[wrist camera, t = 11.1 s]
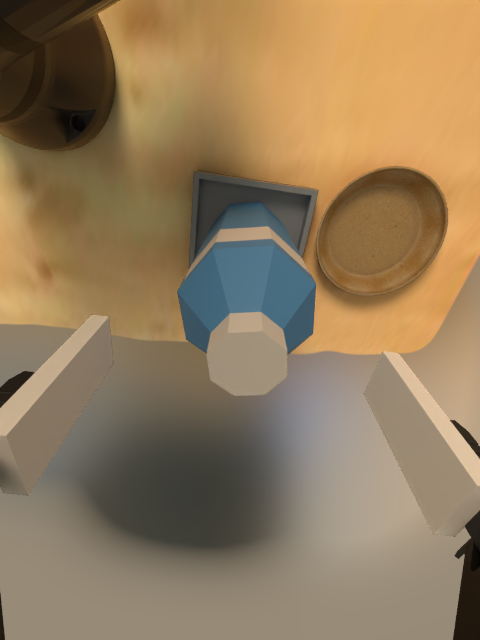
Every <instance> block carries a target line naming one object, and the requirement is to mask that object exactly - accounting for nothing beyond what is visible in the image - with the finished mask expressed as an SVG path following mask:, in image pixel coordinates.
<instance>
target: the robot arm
mask: <svg viewBox="0 0 480 640" xmlns="http://www.w3.org/2000/svg"><path fill="white" fill-rule="evenodd" d="M118 1H120V0H0V133H1V134H2V135H4V136H6V137H8V138H9V139H11V140H13V141H15V142H18V143H20V144H22V145H25V146H28V147H32V148H36V149H41V150H55V151H63V150H71V149H75V148H78V147H80V146H82V145H84V144H86V143H88V142H89V141H90V140H92V139H93V138H94V137H95V136H96V135H97V134H98V133H99V132H100V130H101V129H102V127H103V126H104V124H105V122H106V120H107V118H108V116H109V113H110V110H111V107H112V103H113V98H114V89H115V73H114V64H113V58H112V53H111V49H110V45H109V41H108V38H107V35H106V33H105V30H104V27H103V25H102V23H101V21H100V19H99V17H98V15H97V14H98V13H100V12H101V11H103V10H105V9H106V8H108V7H110V6H111V5H113V4H115V3H116V2H118ZM112 365H113V353H112V343H111V332H110V321H109V316H101V315H93V314H92V315H91V316H90V317H89V318H88V319H87V320H86V321H85V322H84V323H83V324H82V325H81V326H80V327H79V328H78V329H77V330H76V332H75V333H74V334H73V335H72V336H71V337H70V338H69V339H68V340H67V341H66V342H65V343H64V344H63V345H62V346H61V347H60V348H59V349H58V350H57V351H56V352H55V353H54V354H53V355H52V356H51V357H50V358H49V359H48V360H47V361H46V362H45V363H44V364H43V365H42V366H41V367H40V368H39V369H38V370H37V371H36V372H28V371H24V372H22V373H20V374H18V375H16V376H15V377H13V378H11V379H9V380H8V381H7V382H6V383H5V384H4V385H3V386H1V387H0V487H1V490H2V492H3V493H8V494H18V495H29V494H30V492H31V491H32V489H33V488H34V486H35V484H36V483H37V481H38V480H39V478H40V477H41V475H42V474H43V472H44V471H45V469H46V467H47V466H48V464H49V463H50V461H51V460H52V458H53V456H54V455H55V453H56V452H57V450H58V449H59V447H60V446H61V444H62V443H63V441H64V440H65V438H66V436H67V435H68V433H69V432H70V430H71V429H72V427H73V426H74V424H75V423H76V421H77V419H78V418H79V416H80V415H81V413H82V412H83V410H84V409H85V407H86V405H87V404H88V402H89V401H90V399H91V398H92V396H93V395H94V393H95V392H96V390H97V388H98V387H99V385H100V384H101V382H102V380H103V379H104V378H105V376H106V374H107V373H108V371H109V370H110V368H111V366H112ZM364 395H365V397H366V399H367V401H368V403H369V405H370V407H371V409H372V412H373V414H374V416H375V418H376V420H377V422H378V424H379V426H380V428H381V430H382V432H383V434H384V436H385V438H386V440H387V442H388V444H389V446H390V448H391V450H392V452H393V454H394V456H395V458H396V460H397V462H398V464H399V466H400V468H401V470H402V472H403V474H404V476H405V478H406V480H407V482H408V484H409V486H410V488H411V491H412V492H413V495H414V496H415V499H416V501H417V503H418V505H419V507H420V509H421V511H422V513H423V515H424V517H425V519H426V521H427V523H428V525H429V527H430V529H431V531H432V533H433V534H434V535H443V536H453V537H455V536H456V535H457V534H458V533H459V532H460V531H461V530H462V529H463V528H464V527H465V528H466V529H467V531H468V533H469V534H470V536H471V539H469V540H468V541H467V542H466V543H465V544H464V545H463V546H462V547H461V548H460V549H459V550H458V551H457V553H456V555H455V557H457V558H458V559H459V558H460V557H461V556H462V555H463V554H465V558H464V565H463V572H462V579H461V587H460V594H459V601H458V608H457V615H456V622H455V629H454V637H453V640H480V446H478V443H477V442H476V440H475V439H474V438H473V437H472V436H471V434H470V433H469V432H468V431H467V430H466V429H465V428H463V427H462V426H461V425H460V424H459V423H457V422H456V421H455V420H449V419H448V417H447V416H446V415H445V413H444V412H443V411H442V409H441V408H440V407H439V406H438V404H437V403H436V402H435V401H434V399H433V398H432V396H431V395H430V394H429V393H428V391H427V390H426V389H425V387H424V386H423V385H422V383H421V382H420V381H419V380H418V378H417V377H416V376H415V375H414V373H413V372H412V371H411V369H410V368H409V367H408V365H407V364H406V363H405V361H404V360H403V359H402V358H401V356H400V355H399V354H398V353H392V352H384V351H383V352H382V354H381V357H380V359H379V361H378V363H377V365H376V368H375V370H374V372H373V374H372V376H371V378H370V381H369V383H368V385H367V387H366V390H365V392H364ZM0 640H5V635H4V625H3V616H2V605H1V595H0Z"/></svg>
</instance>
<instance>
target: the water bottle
mask: <svg viewBox="0 0 480 640" xmlns="http://www.w3.org/2000/svg"><path fill="white" fill-rule="evenodd" d="M177 292H178V298H179V303H180V308H181V314H182V319H183V325H184V330H185V335H186V340H188V341H189V342H191V343H192V344H194V345H195V346H196V347H198V348H199V349H201V350H202V351H204V352H205V353H206V355H207V361H208V369H209V375H210V380H211V381H212V382H214V383H215V384H217V385H218V386H220V387H221V388H223V389H224V390H226V391H227V392H229V393H230V394H232V395H233V396H249V395H265V394H267V393H268V392H269V391H270V390H272V389H273V388H274V387H275V386H277V385H278V384H279V383H280V382H282V381H283V380H284V379H285V378H287V355H288V354H289V353H291V352H292V351H293V350H294V349H295V348H296V347H298V346H299V345H300V344H301V343H302V342H304V341H305V340H306V339H307V338H308V337H309V336H311V335H312V334H313V325H314V308H315V292H316V283H315V281H314V279H313V278H312V276H311V274H310V272H309V270H308V269H307V267H306V265H305V263H304V261H303V259H302V258H301V256H300V254H299V252H298V250H297V248H296V247H295V245H294V243H293V241H292V239H291V238H290V236H289V234H288V232H287V230H286V228H285V227H284V225H283V223H282V222H281V221H280V220H279V219H278V218H277V217H276V216H275V215H274V214H273V213H272V212H271V211H270V210H269V209H268V208H267V207H265V206H264V205H263V204H262V203H261V202H251V203H237V204H230V205H229V206H228V207H227V208H226V210H225V211H224V212H223V213H222V215H221V216H220V217H219V218H218V220H217V221H216V222H215V223H214V224H213V226H212V227H211V229H210V230H209V232H208V234H207V236H206V238H205V240H204V242H203V244H202V246H201V248H200V249H199V251H198V253H197V255H196V257H195V259H194V261H193V263H192V265H191V267H190V269H189V270H188V272H187V274H186V276H185V278H184V280H183V282H182V284H181V286H180V288H179V289H178V291H177Z"/></svg>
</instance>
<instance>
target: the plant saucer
mask: <svg viewBox="0 0 480 640" xmlns="http://www.w3.org/2000/svg"><path fill="white" fill-rule="evenodd" d="M447 226H448V208H447V203H446V200H445V197H444V194H443V192H442V191H441V189H440V187H439V186H438V185H437V183H436V182H435V181H434V180H433V179H432V178H431V177H430V176H428V175H427V174H425V173H423V172H421V171H419V170H416V169H414V168H409V167H403V166H390V167H384V168H379V169H376V170H373V171H370V172H367V173H365V174H363V175H362V176H360V177H358V178H356V179H355V180H353V181H352V182H350V183H349V184H348V185H347V186H345V187H344V188H343V189H342V190H341V191H340V192H339V193H338V194H337V196H336V197H335V198H334V199H333V200H332V202H331V203H330V205H329V206H328V208H327V209H326V211H325V213H324V215H323V218H322V220H321V223H320V226H319V229H318V234H317V245H316V246H317V255H318V260H319V264H320V266H321V268H322V270H323V272H324V274H325V275H326V276H327V278H328V279H329V280H330V281H331V282H332V283H333V284H334V285H336V286H337V287H339V288H340V289H342V290H343V291H346V292H349V293H352V294H355V295H363V296H373V295H381V294H385V293H389V292H392V291H394V290H397V289H399V288H401V287H403V286H405V285H406V284H408V283H410V282H411V281H413V280H414V279H415V278H416V277H418V276H419V275H420V274H421V273H422V272H423V271H424V270H425V269H426V268H427V267H428V266H429V265H430V264H431V263H432V261H433V260H434V258H435V257H436V255H437V254H438V252H439V250H440V248H441V246H442V244H443V241H444V238H445V235H446V232H447Z"/></svg>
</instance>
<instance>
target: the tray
mask: <svg viewBox="0 0 480 640" xmlns="http://www.w3.org/2000/svg"><path fill="white" fill-rule="evenodd" d="M318 191H319V190H316V189H313V188H306V187H300V186H293V185H287V184H280V183H273V182H267V181H260V180H254V179H247V178H241V177H234V176H228V175H221V174H215V173H208V172H202V171H194V179H193V197H192V216H191V235H190V253H189V269H190V267H191V265H192V263H193V261H194V259H195V257H196V255H197V253H198V251H199V249H200V248H201V246H202V244H203V242H204V240H205V238H206V236H207V234H208V232H209V230H210V229H211V227H212V226H213V224H214V223H215V222H216V221H217V220H218V218H219V217H220V216H221V215H222V213H223V212H224V211H225V210H226V208H227V207H228V206H229V205H230V204H237V203H251V202H261V203H262V204H263V205H264V206H265V207H267V208H268V209H269V210H270V211H271V212H272V213H273V214H274V215H275V216H276V217H277V218H278V219H279V220H280V221H281V222H282V223H283V225H284V227H285V228H286V230H287V232H288V234H289V236H290V238H291V239H292V241H293V243H294V245H295V247H296V248H297V250H298V252H299V254H300V256H301V258H302V257H303V253H304V248H305V244H306V240H307V236H308V232H309V228H310V224H311V220H312V216H313V212H314V208H315V204H316V200H317V195H318Z"/></svg>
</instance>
